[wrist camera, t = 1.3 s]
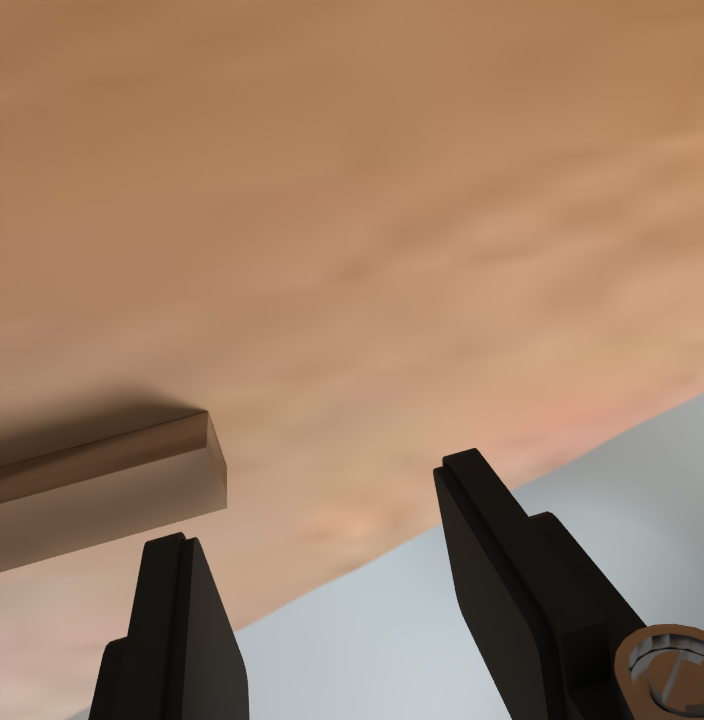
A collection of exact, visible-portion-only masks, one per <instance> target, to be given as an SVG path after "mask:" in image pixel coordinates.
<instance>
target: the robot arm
mask: <svg viewBox="0 0 704 720" xmlns="http://www.w3.org/2000/svg"><path fill="white" fill-rule="evenodd" d="M433 475H434V481H435V486H436V492H437V497H438V502H439V507H440V513H441V518H442V523H443V528H444V533H445V539H446V544H447V549H448V555H449V560H450V565H451V571H452V575H453V581H454V586H455V591H456V596H457V600H458V603H459V607H460V610H461V612H462V615H463V617H464V619H465V622H466V624H467V626H468V628H469V630H470V632H471V634H472V636H473V638H474V640H475V643H476V645H477V647H478V649H479V651H480V653H481V655H482V657H483V659H484V661H485V664H486V666H487V668H488V670H489V672H490V674H491V676H492V678H493V680H494V683H495V685H496V687H497V689H498V691H499V693H500V695H501V697H502V699H503V701H504V704H505V705H506V708H507V710H508V712H509V714H510V716H511V718H512V720H704V631H703V630H700V629H698V628H695V627H689V626H684V625H678V624H659V625H652V626H649V627H647V626H646V625H645V624H644V622H643V621H642V620H641V619H640V617H639V616H638V615H637V614H636V613H635V611H634V610H633V609H632V608H631V607H630V606H629V604H628V603H627V602H626V601H625V599H624V598H623V597H622V596H621V595H620V593H619V592H618V591H617V590H616V588H615V587H614V586H613V585H612V584H611V582H610V581H609V580H608V579H607V578H606V576H605V575H604V574H603V573H602V572H601V570H600V569H599V568H598V567H597V565H596V564H595V563H594V562H593V561H592V560H591V558H590V557H589V556H588V555H587V553H586V552H585V551H584V550H583V549H582V547H581V546H580V545H579V544H578V543H577V541H576V540H575V539H574V538H573V536H572V535H571V534H570V533H569V532H568V530H567V529H566V528H565V527H564V526H563V525H562V523H561V522H560V521H559V520H558V518H556V516H554V515H553V514H552V513H550V512H548V511H547V512H543V513H540V514H537V515H533V516H530V517H528V515H527V514H526V513H525V512H524V510H523V509H522V507H521V506H520V505H519V503H518V502H517V501H516V500H515V498H514V497H513V496H512V494H511V493H510V491H509V490H508V489H507V488H506V486H505V485H504V484H503V482H502V481H501V480H500V478H499V477H498V476H497V474H496V473H495V472H494V470H493V469H492V468H491V466H490V465H489V464H488V462H487V461H486V460H485V459H484V457H483V456H482V455H481V453H480V452H479V451H478V450H477V449H476V448H473V449H469V450H466V451H462V452H459V453H455V454H452V455H448V456H445V457H443V466H442V467H438V468H435V469H434V470H433ZM248 697H249V696H248V680H247V674H246V669H245V665H244V661H243V658H242V655H241V653H240V650H239V647H238V645H237V642H236V639H235V637H234V634H233V631H232V628H231V626H230V623H229V620H228V617H227V615H226V612H225V609H224V607H223V604H222V601H221V598H220V596H219V593H218V590H217V587H216V585H215V582H214V579H213V577H212V574H211V571H210V568H209V566H208V563H207V560H206V558H205V555H204V552H203V549H202V547H201V544H200V542H199V540H198V538H197V537H194V538H191V539H187V540H186V537H185V536H184V534H183V533H182V532H178V533H175V534H171V535H168V536H164V537H161V538H157V539H154V540H150V541H147V542H146V543H145V545H144V549H143V554H142V560H141V565H140V570H139V576H138V581H137V586H136V592H135V597H134V602H133V608H132V613H131V618H130V624H129V629H128V635H127V637H124V638H121V639H117V640H114V641H111V642H109V643H108V644H107V646H106V648H105V650H104V653H103V657H102V661H101V666H100V670H99V675H98V679H97V683H96V688H95V692H94V697H93V701H92V706H91V710H90V715H89V719H88V720H249V698H248Z"/></svg>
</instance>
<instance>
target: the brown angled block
mask: <svg viewBox="0 0 704 720" xmlns="http://www.w3.org/2000/svg"><path fill="white" fill-rule="evenodd" d="M225 508H227V466H226V463H225V460H224V457H223V454H222V451H221V448H220V445H219V442H218V439H217V436H216V433H215V430H214V427H213V424H212V421H211V418H210V415H209V412H204V413H200V414H197V415H193V416H189V417H185V418H182V419H178V420H174V421H171V422H167V423H163V424H159V425H156V426H152V427H148V428H145V429H141V430H137V431H133V432H130V433H126V434H122V435H119V436H115V437H111V438H107V439H104V440H100V441H96V442H93V443H89V444H85V445H81V446H78V447H74V448H70V449H67V450H63V451H59V452H56V453H52V454H48V455H44V456H41V457H37V458H33V459H30V460H26V461H22V462H18V463H15V464H11V465H7V466H4V467H0V572H3V571H7V570H10V569H14V568H17V567H21V566H24V565H28V564H31V563H35V562H38V561H42V560H45V559H49V558H52V557H56V556H59V555H63V554H66V553H70V552H73V551H77V550H80V549H84V548H88V547H91V546H95V545H98V544H102V543H105V542H109V541H112V540H116V539H119V538H123V537H126V536H130V535H133V534H137V533H140V532H144V531H147V530H151V529H154V528H158V527H161V526H165V525H169V524H172V523H176V522H179V521H183V520H186V519H190V518H193V517H197V516H200V515H204V514H207V513H211V512H214V511H218V510H221V509H225Z"/></svg>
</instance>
